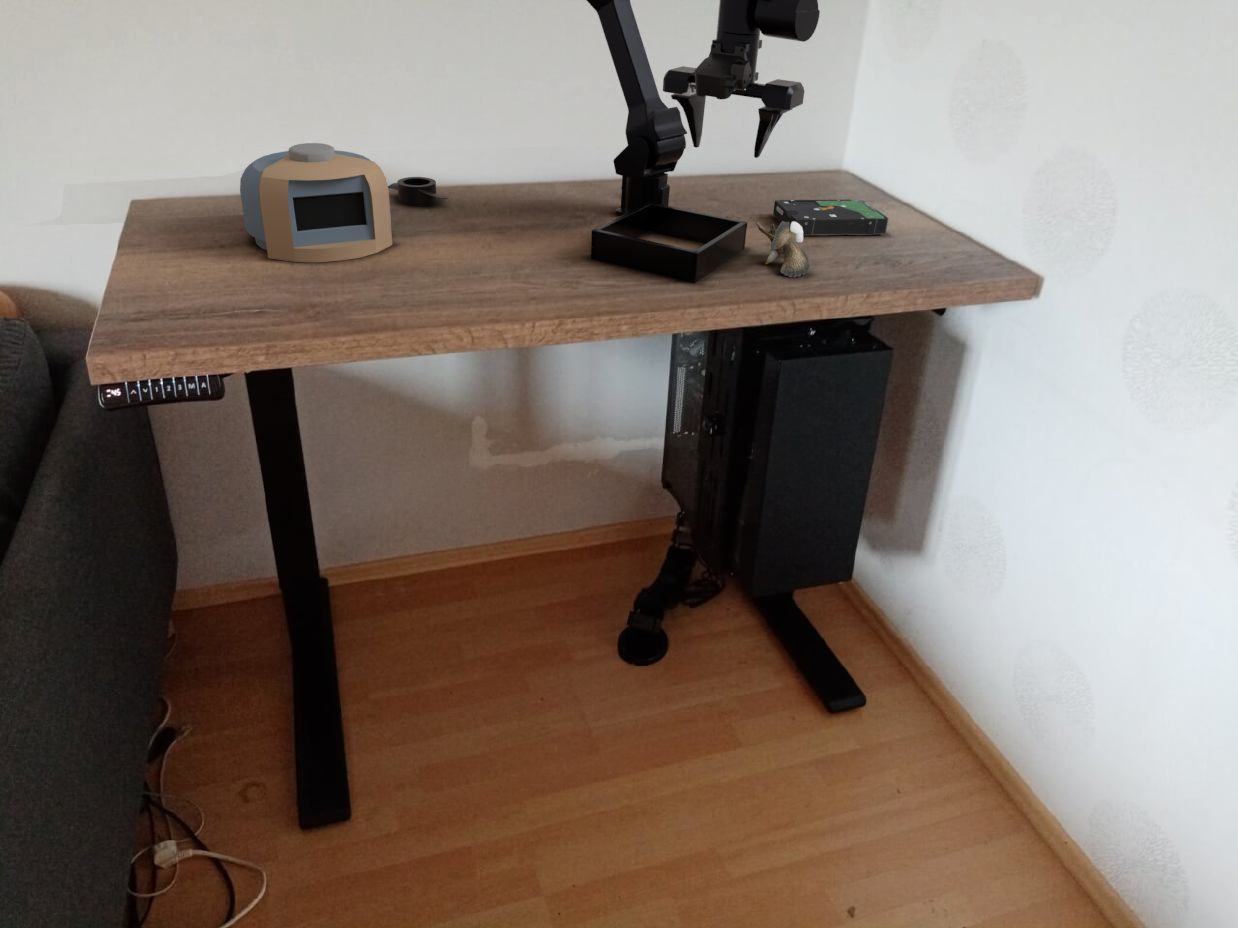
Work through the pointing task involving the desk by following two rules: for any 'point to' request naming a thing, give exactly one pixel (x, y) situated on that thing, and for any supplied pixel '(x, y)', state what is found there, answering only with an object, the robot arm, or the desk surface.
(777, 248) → the eagle figurine
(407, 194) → the duct tape
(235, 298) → the desk surface
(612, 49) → the robot arm
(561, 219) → the desk surface
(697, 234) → the desk tidy
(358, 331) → the desk surface
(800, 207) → the disk drive
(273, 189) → the alarm clock
